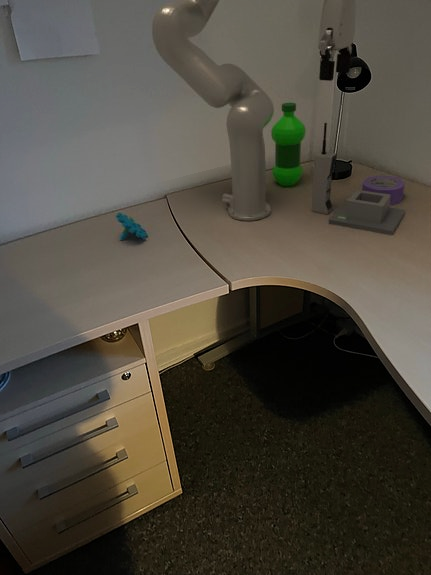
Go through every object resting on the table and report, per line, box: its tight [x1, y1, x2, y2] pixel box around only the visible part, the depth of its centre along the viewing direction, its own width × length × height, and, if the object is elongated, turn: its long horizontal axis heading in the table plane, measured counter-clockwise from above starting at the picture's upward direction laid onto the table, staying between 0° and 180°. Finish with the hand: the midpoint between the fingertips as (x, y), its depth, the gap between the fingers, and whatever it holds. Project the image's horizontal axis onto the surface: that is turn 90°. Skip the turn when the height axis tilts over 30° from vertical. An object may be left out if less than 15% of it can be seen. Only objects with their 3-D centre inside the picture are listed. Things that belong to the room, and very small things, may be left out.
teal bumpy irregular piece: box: [115, 212, 148, 242], centre depth 128 cm, size 11×6×10 cm
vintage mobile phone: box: [311, 122, 338, 215], centre depth 128 cm, size 4×5×25 cm
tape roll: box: [361, 174, 405, 206], centre depth 139 cm, size 12×12×5 cm
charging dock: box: [328, 189, 406, 236], centre depth 127 cm, size 17×14×6 cm
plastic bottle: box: [270, 102, 306, 187], centre depth 148 cm, size 10×10×25 cm
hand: (334, 76), depth 109 cm, fingers open, 9 cm apart
